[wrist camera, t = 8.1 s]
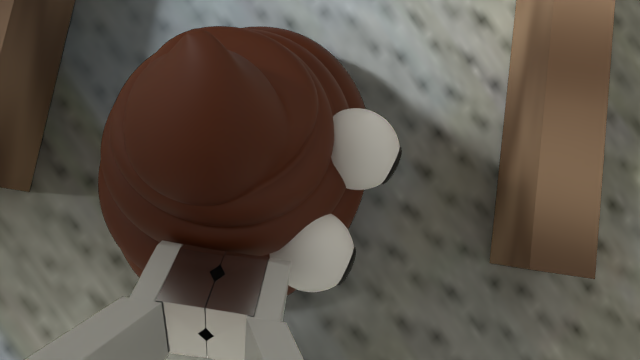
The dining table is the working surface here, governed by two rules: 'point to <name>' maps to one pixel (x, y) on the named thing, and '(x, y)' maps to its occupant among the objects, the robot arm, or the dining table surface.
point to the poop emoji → (243, 152)
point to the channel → (518, 131)
